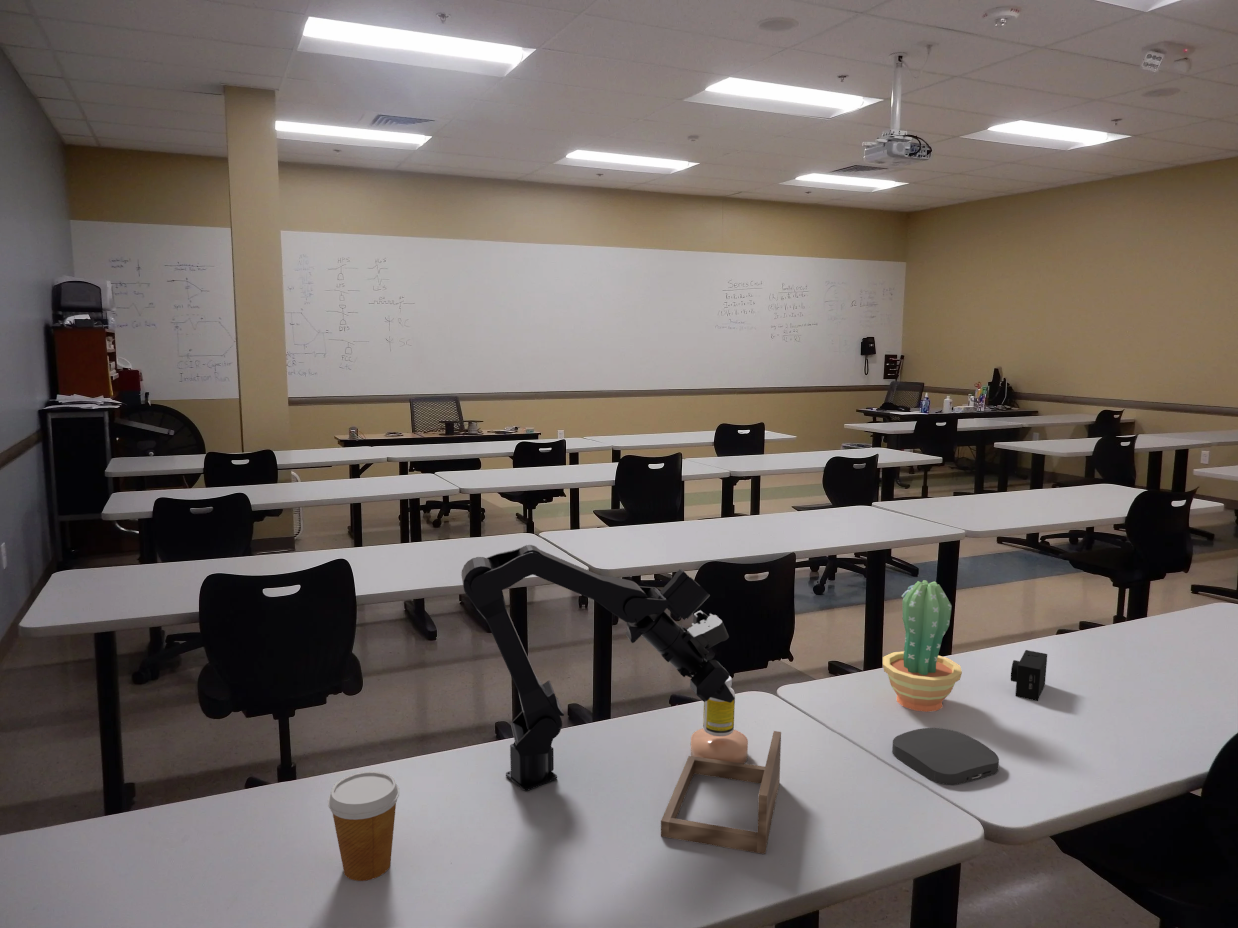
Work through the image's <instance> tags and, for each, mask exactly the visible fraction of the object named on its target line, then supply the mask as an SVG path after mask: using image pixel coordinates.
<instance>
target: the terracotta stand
mask: <svg viewBox="0 0 1238 928" xmlns="http://www.w3.org/2000/svg"><path fill="white" fill-rule="evenodd" d="M748 745H749V740H748V738H747V736H746V735H745V734H744V733H742V732H741V731H739V730H736V729H734V730H733V732H732V733H731V734H729V735H727V736H713V735H710V734H708V733H706V732H705V731H704V729H703V727H702V728H699V729H697V730H696V731H694V732H693V733H692V734H691V736H690V756H694V757H701V758H708V759H715V760H722V761H729V762H736V763H743V764H747V763H746V762H747V761H748V757H749V756H748V753H749V746H748Z"/></svg>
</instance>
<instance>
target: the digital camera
mask: <svg viewBox="0 0 1238 928" xmlns="http://www.w3.org/2000/svg"><path fill="white" fill-rule="evenodd" d="M1021 656H1022V657H1021V658H1020V660H1015V659H1013V661H1012V663H1011V664H1012V665H1011V670H1010V681H1011V682H1013V683H1014V682H1015V684H1016V685H1015V696H1014V697H1016V698H1021V699H1024V700H1025V699H1026V700H1030V701H1033V702H1039V700H1040V697H1041V695H1042V692H1043V690H1044V688H1045V685H1046V678H1047V664H1048V663H1047V662H1048V653H1043V652H1040V651H1039V652H1038V651H1034V650H1028V649H1025V651H1024V652H1023V654H1022V655H1021Z"/></svg>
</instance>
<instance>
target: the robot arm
mask: <svg viewBox="0 0 1238 928" xmlns="http://www.w3.org/2000/svg"><path fill="white" fill-rule="evenodd" d="M460 573H461V574H460V575H461V579H462V586H463V590H464V593H465V594H466V597H467V598H468V600H470V603H472V605H473V606H474V608H475V609H476V611H478V613H479V614H480V615H481V617H482V618H483V619H484V620H485V621H486V623H487V625H488V627H489V630H490V632H491V634H492V636H493V639H494V641H495V644H496V646H497V648H498V650H499V652H500V654H501V656H502V659H503V660H504V663H505V665H506V667H507V671H509V674H510V676H511V679H512V681H513V683H514V685H515V688H516V690H517V692H518V693H517V694H518V696H519V701H520V705H521V706H520V707H521V711H520V712H519V714H517V716H516V717H515V718H514V719H512V720H511V722H510V726H511V731H512V735H513V739H514V742H513V743H511V744H510V745H509V751H510V752H509V756H510V757H509V760H510V762H509V763H510V770H509V771H507V772H505V777H506V778H507V779H509V780H510V781H511V782H513V783H514V784H515V785H516V786H518V787H519V788H520V789H522V790H523V791H530V790H532V789H535V788H537V787H541V786H542V785H545V784H548V783H551V782H553V781H555V780H557V779H558V775H557V774H556V773H554V772H553V771H554V769H555V768H554V766H555V765H554V764H555V762H554V761H555V760H554V758H555V756H554V747H552V743H553V741H554V739H555V738H556V737H557V736H558V735H559V734H560V733H561V730H562V728H563V719H562V717H564V716H565V713H564V710H563V708H562V706H561V703H560V700H559V697H557V695H556V693H555V691H554V688H553V686H552V683H551V680H547V681H546V682H544V683H543V682H542V681H541V680H540V679H539V678H538V677H537V675H536V673H535V671H534V668H533V666H532V664H531V661H530V659H529V657H528V654H527V652H526V650H525V648H524V646H523V643H522V641H521V638H520V636H519V635H518V632H517V630H516V628H515V626H514V622H513V621H512V618H511V616H510V613H509V611H508V609H507V605H506V600H505V597H504V592H503V591H504V590H505V589H508V588H510V587H512V586H513V585H515V584H517V583H518V582H520V581H522V580H523V579H525V578H527V577H530V576H532V575H533V576H536V577H538V578H541V579H543V580H545V581H548V582H550V583H552V584H556V585H557V586H560V587H561V588H565V589H567V590H570V591H571V592H574V593H577V594H579V595H580V596H581V595H582V596H583V597H586V598H588V599H590V600H593V601H594V602H596V603H598V604H599V605H600V606H601V607H603V608H604V609H606V610H607V611H608V612H610V613H611V614H613V615H614V616H615V617H617V618H618V619H620V620H622V621H624V622H625V623H626V624H625V625H626V633H625V636H626V637H627V638H628V640H629V641H630V643H631V644H634V643H635V642H636V641H637V640H638V639H639V638H640V637H642V638H643V639H644V640H645V641H646V642H647V643H648V644H650V646H651V647H653V649H655V650H656V651H657V653H659V654H660V655H661V657H662V658H663V659H664V660H665V661H666V662H667V663H670V665H672V667H674V668H675V669H676V670H677V672H678V673H679V674H680V676H682V677H683V678H685V677H688V678H690V679H689V687H690V688H691V690H692V691H693V692H694V694H695V696H697V697H698V698H700V700H701V701H702V702H703V703H704V702H705V701H708V700H709V699H710V697H711V698H715V699H719V700H722V701H726V702H729V703H731V702H732V701H733V700H734V696H733V695H732V693H731V692H730V690H729V689H728V687H727V685H726V684H725V682H726V681H727V679H728V678H729V676H730V673H729V671H727V669H726V668H725V667H723V665H722V664H721V663H720V662H719V661H718V660H716V659H709V660H708V659H707V657H708V655H710V654H709V653H710V651H708V650H707V649H710V648H712V647H714V646H716V645H718V644H719V643H721V642H725V641H727V640H728V639H729V638H730V635H729V633H728V631H727V629H726V626H725V624H724V622H723V620H722V619H721V618H719V616H718V615H716V614H712V613H708V614H709V615H707V614H706V613H705V612H703V611H702V610H701V609H700V610H698V609H699V608H700V607H701V606H702V605H703V604H704V602H705V601H707V599H709V597H710V596H711V595H710V594H709V593H708V592H707V591H706V590H705V589H704V588H703V587H702V586H701V585H700V584H699V583H698V582H697V581H696V580H694V579H693V578H692V577H690V576H689V575H688V574H687V573H686V572H685V571H684V570H683V569H681V568H680V569H678V571H677V572H676V573H674V576H673V577H672V578H671V579H670V581H668V582H667V584H666V585H664V587H663V588H661V590H659V589H658V588H657V587H654V586H642V585H639V584H637V583H636V582H635V581H634V580H630V579H625V578H620V577H615V576H606V575H601V574H597V573H596V572H593V571H590V570H588V569H586V568H584V567H581V566H579V565H576V564H574V563H572V562H569V561H567V560H564V559H562V558H561V557H557V556H555V555H553V554H550V553H548V552H546V551H543V550H542V549H540V548H538V547H537V546H535V545H533V544H528V545H527V544H526V545H524V546H521V547H519V548H517V549H516V548H515V549H512V550H508V551H504V552H498V553H496V554H493V555H490V556H488V557H484V556H476V557H473V558H471V559H469V560H467V561H466V562H465V564H464V565H463V568H462V569H461V572H460ZM666 610H668V611H669V612H670V613H671V614H672V615H673V616H674V617H676V619H678V620H680V619H682V620H683V621H685V620H688V619H689V618H691V616H692V615H693V618H692V620H693V621H692V623H691V626H690V627H688V628H685V627H684V625H680V624H678V623H677V621H675V620H674V619H673V618H672V617H671V616H670V614H668V613H667V612H666ZM730 677H731V676H730Z"/></svg>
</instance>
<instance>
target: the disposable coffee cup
mask: <svg viewBox="0 0 1238 928" xmlns="http://www.w3.org/2000/svg"><path fill="white" fill-rule="evenodd" d="M399 797H400V787H399V786H398V784H397V782H396V779H395V777H394V776H392V775H391V774H388V773H387V772H383V771H373V770H371V771H362V772H357V773H354V774H353V773H352V774H350V775H348V776H345V777H343V778H341V779H340V780H337V782H336V783H335V784H333V786H332V788H331V791H330V794H329V796H328V798H327V805H328V806H327V807H328V808H329V810H330V812H331V813H332V818H333V822H334V823H333V824H334V829H335V834H336V837H337V842H338V850H339V853H340V859H341V862H342V863H341V864H342V871H343V874H344V876H345V877H346V878H348V879H349V880H352V881H357V882H359V881H360V882H361V881H362V882H363V881H365V882H366V881H370V880H374V879H377V878H379V877H380V876H382V875H384V874H385V873H386V872H387V871H388V870H389V869H390V866H391V864H392V862H391V860H392V852H393V851H392V850H393V849H392V848H393V840H394V829H395V828H394V827H395V820H396V819H395V818H396V808H397V807H396V806H397V801H398V799H399Z"/></svg>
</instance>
